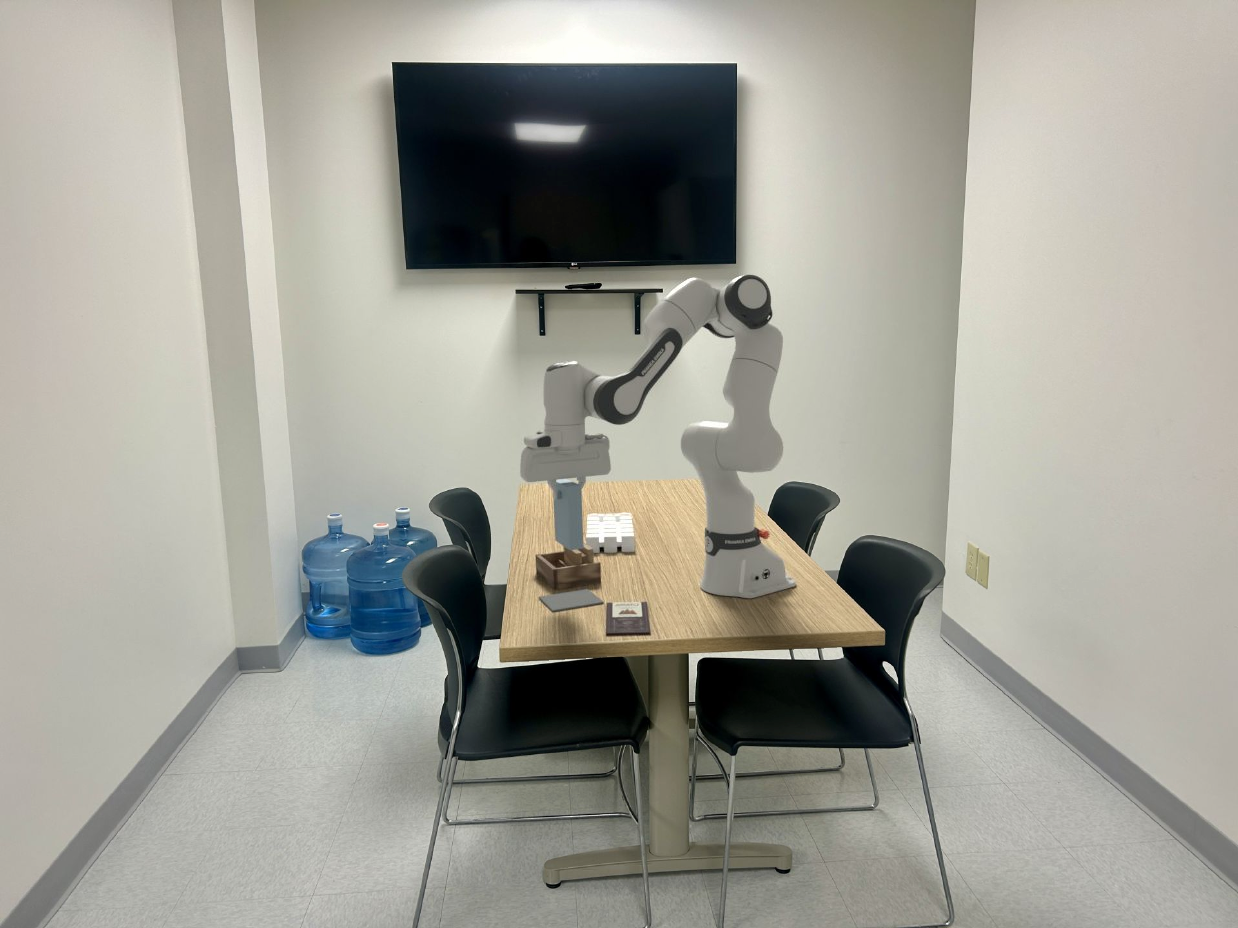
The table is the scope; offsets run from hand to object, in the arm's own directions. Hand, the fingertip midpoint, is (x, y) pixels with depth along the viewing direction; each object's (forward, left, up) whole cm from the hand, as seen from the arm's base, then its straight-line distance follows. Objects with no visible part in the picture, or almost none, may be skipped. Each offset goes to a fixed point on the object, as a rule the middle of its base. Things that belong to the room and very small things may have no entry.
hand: (567, 497), depth 182 cm
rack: (-5, -16, -24) cm, 29 cm away
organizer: (-30, -49, -25) cm, 62 cm away
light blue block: (0, 0, -11) cm, 11 cm away
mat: (0, 0, -24) cm, 24 cm away
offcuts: (-8, -16, -22) cm, 29 cm away
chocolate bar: (-7, +16, -25) cm, 30 cm away
